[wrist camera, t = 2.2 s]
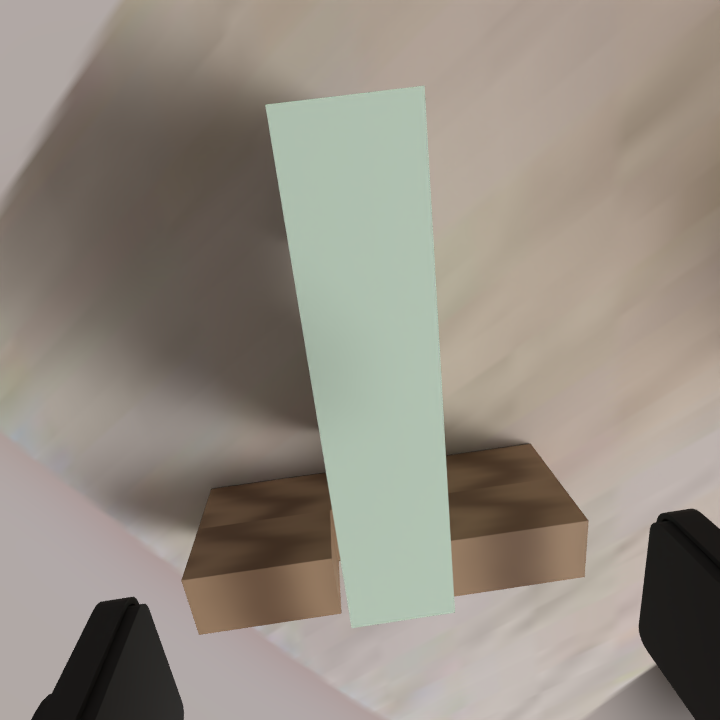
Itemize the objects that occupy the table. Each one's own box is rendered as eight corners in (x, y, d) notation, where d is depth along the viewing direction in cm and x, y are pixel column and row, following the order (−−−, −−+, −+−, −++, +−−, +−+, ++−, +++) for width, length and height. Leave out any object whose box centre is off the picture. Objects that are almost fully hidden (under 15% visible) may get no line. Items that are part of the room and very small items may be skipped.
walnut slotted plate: (223, 535, 35) (199, 634, 28) (211, 489, 34) (181, 580, 26) (529, 491, 36) (584, 577, 29) (530, 443, 35) (588, 520, 27)
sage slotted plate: (293, 134, 26) (265, 104, 12) (368, 125, 26) (424, 85, 13) (337, 431, 33) (351, 628, 19) (397, 423, 33) (454, 612, 19)
